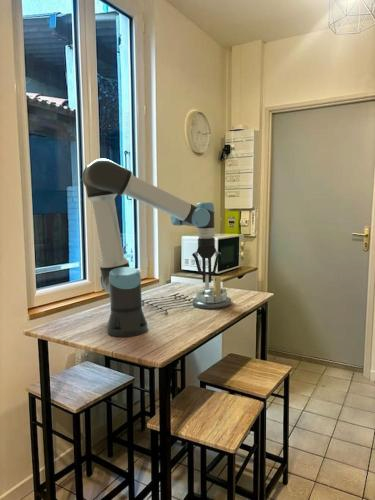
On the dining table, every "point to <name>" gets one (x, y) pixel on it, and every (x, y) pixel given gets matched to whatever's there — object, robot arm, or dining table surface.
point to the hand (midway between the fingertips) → (207, 289)
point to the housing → (211, 305)
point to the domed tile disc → (219, 293)
